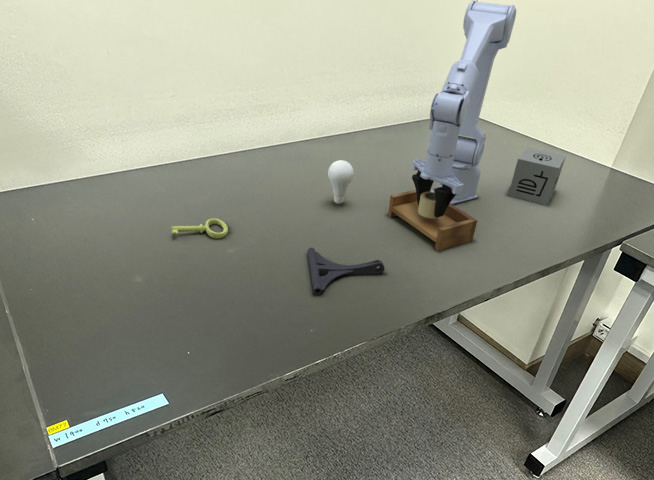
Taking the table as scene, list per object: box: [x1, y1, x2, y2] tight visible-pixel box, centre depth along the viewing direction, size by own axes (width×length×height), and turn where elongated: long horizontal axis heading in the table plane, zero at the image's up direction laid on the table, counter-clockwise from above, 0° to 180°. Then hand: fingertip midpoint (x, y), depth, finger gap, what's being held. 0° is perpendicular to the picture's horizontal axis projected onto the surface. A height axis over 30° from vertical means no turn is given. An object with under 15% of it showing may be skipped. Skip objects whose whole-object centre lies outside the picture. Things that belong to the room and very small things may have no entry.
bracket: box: [307, 247, 385, 296], centre depth 106 cm, size 14×15×3 cm
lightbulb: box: [327, 159, 355, 205], centre depth 128 cm, size 6×6×11 cm
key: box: [170, 217, 229, 239], centre depth 116 cm, size 7×12×2 cm, turn 126°
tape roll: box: [418, 192, 439, 218], centre depth 119 cm, size 5×5×4 cm
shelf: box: [387, 189, 478, 252], centre depth 122 cm, size 10×18×5 cm, turn 31°
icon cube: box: [507, 146, 567, 206], centre depth 138 cm, size 10×10×10 cm
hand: (430, 210), depth 120 cm, fingers closed on tape roll, 5 cm apart
